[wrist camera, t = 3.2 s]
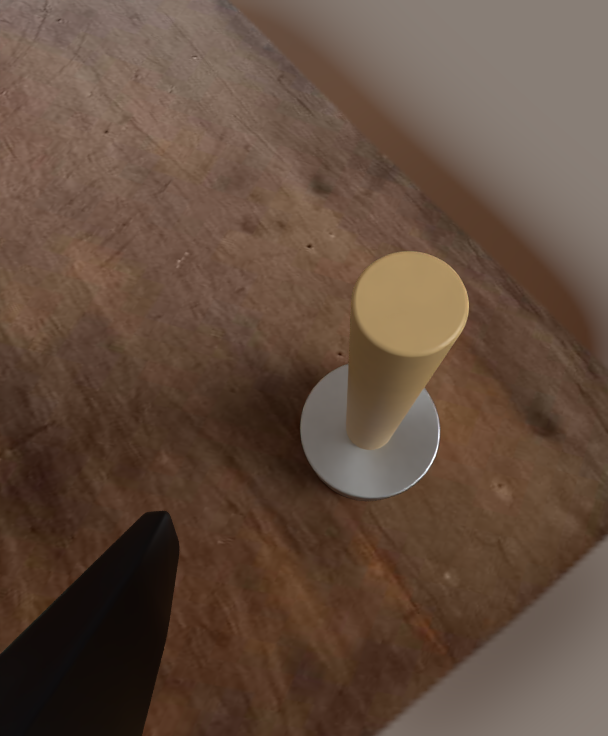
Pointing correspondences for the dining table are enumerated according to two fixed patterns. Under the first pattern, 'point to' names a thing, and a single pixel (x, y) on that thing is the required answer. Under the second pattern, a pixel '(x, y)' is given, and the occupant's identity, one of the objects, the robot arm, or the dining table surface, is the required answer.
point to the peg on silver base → (386, 379)
